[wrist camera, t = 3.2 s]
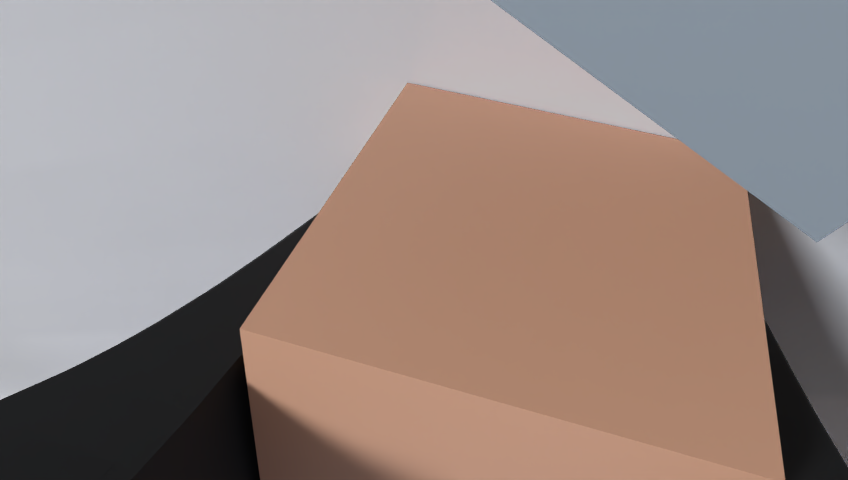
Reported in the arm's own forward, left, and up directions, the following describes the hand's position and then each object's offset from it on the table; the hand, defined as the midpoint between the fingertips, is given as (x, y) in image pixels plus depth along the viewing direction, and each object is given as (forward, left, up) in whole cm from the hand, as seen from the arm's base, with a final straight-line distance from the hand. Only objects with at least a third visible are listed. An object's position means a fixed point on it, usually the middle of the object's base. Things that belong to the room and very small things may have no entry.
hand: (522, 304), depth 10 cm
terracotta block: (0, 0, -1) cm, 1 cm away
